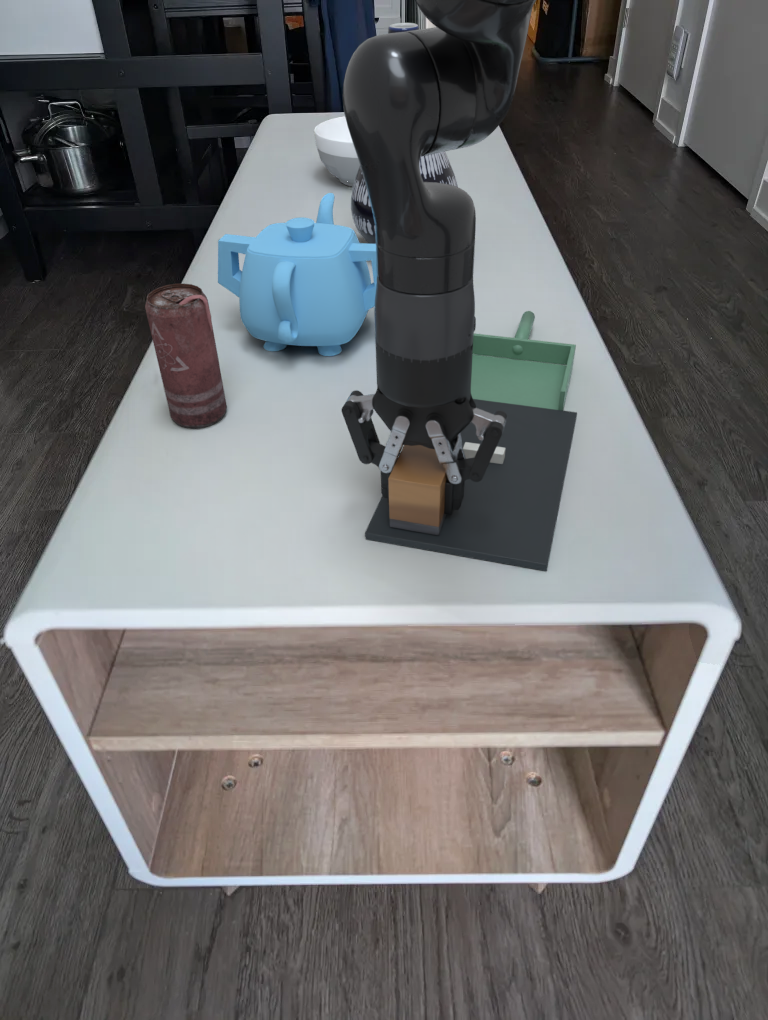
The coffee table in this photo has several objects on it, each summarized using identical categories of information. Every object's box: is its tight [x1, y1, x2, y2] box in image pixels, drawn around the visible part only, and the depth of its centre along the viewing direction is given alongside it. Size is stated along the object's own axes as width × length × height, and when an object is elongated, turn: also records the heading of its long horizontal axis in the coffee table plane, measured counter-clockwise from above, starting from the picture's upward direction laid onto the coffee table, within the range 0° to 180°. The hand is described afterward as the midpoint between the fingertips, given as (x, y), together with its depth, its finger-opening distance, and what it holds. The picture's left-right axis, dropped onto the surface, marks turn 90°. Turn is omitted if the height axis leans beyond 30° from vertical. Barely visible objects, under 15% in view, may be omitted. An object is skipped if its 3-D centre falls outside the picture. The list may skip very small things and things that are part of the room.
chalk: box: [463, 442, 506, 464], centre depth 78 cm, size 1×4×1 cm, turn 74°
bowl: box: [313, 115, 360, 188], centre depth 144 cm, size 19×19×9 cm
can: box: [144, 283, 228, 429], centre depth 82 cm, size 6×6×14 cm
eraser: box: [388, 445, 447, 535], centre depth 70 cm, size 6×4×6 cm
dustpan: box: [471, 310, 577, 411], centre depth 93 cm, size 19×13×3 cm
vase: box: [350, 22, 459, 244], centre depth 111 cm, size 16×16×30 cm
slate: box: [364, 399, 578, 572], centre depth 77 cm, size 24×16×1 cm, turn 164°
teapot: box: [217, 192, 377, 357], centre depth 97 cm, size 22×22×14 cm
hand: (422, 503), depth 72 cm, fingers closed on eraser, 4 cm apart
